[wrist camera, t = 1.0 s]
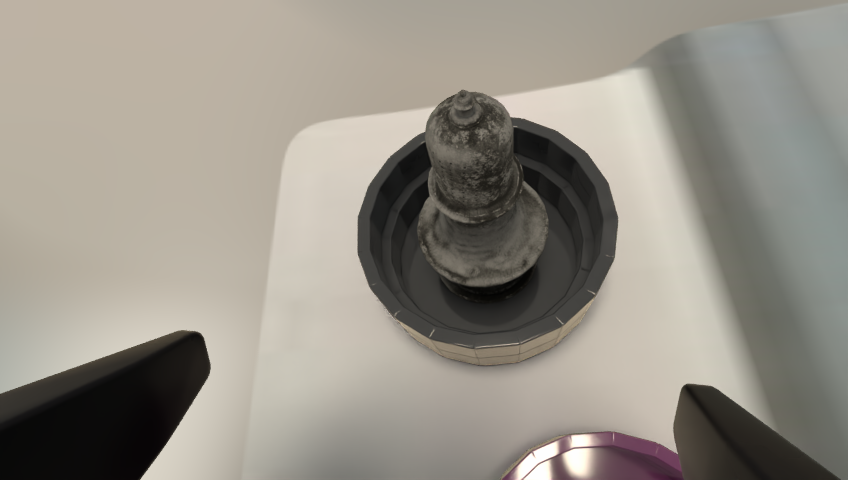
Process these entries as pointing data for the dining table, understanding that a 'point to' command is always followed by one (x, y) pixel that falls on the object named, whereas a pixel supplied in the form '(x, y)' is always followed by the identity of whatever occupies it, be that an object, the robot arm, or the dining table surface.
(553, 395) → the dining table surface
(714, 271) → the dining table surface
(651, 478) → the plum bowl
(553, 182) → the charcoal bowl
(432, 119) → the salt shaker
